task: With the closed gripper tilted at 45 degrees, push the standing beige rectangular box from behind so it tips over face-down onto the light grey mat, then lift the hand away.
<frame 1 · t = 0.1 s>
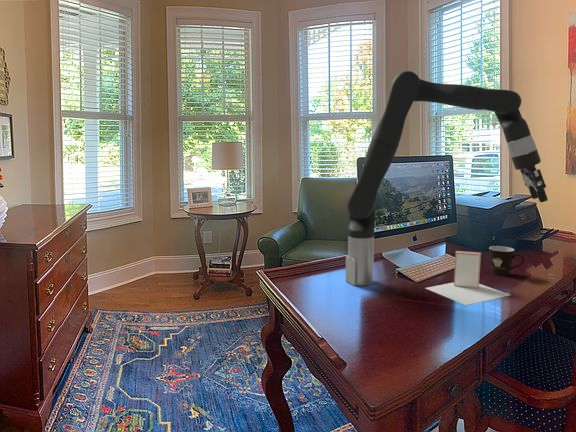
hand: (539, 199, 139), 31 cm above the table, tool tilted 20°, fingers open, 8 cm apart
coffee mug: (503, 275, 164), on the table
mat: (466, 292, 146), on the table
beige rectangular box: (466, 286, 151), resting on mat
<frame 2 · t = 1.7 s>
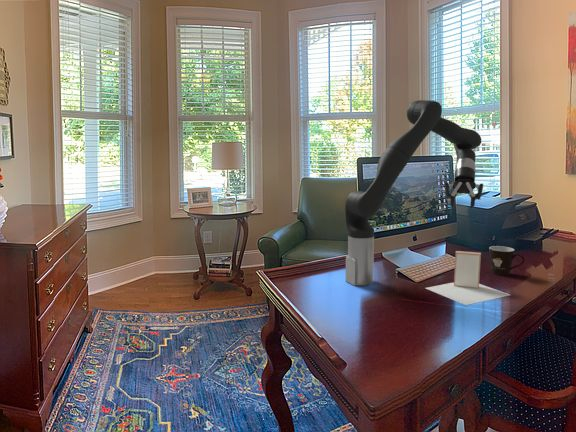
hand: (462, 206, 162), 26 cm above the table, tool tilted 45°, fingers open, 5 cm apart
nothing on the table moved.
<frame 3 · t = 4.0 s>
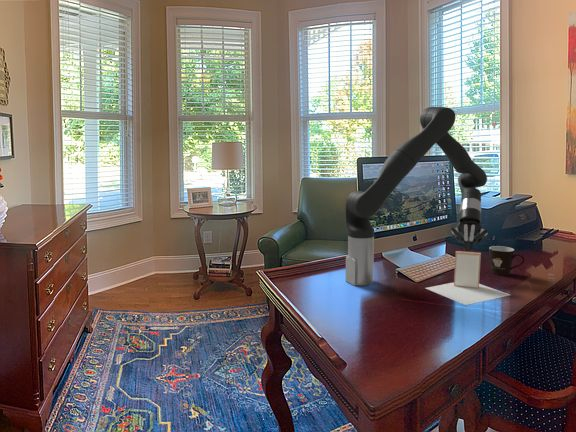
hand: (467, 252, 155), 11 cm above the table, tool tilted 45°, fingers closed
nothing on the table moved.
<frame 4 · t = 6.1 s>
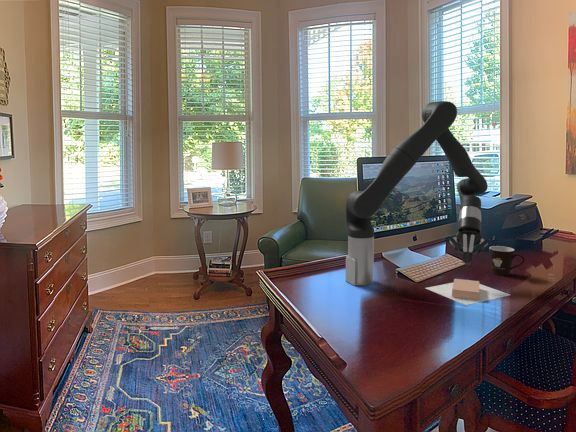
hand: (467, 263, 147), 9 cm above the table, tool tilted 45°, fingers closed
beige rectangular box: (466, 283, 149), point 2 cm above the table, tilted 90°, touching mat
everything else where it was.
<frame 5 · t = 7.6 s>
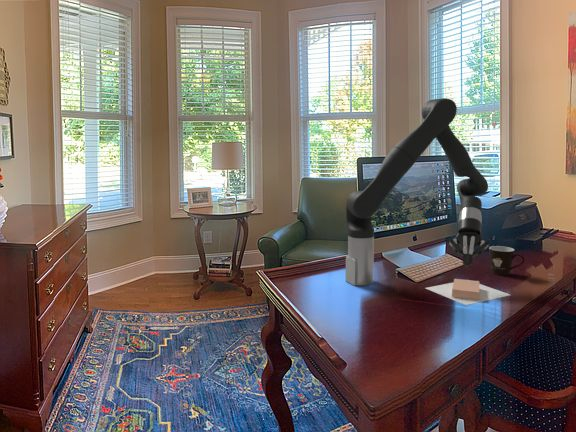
hand: (467, 265, 144), 9 cm above the table, tool tilted 45°, fingers closed
nothing on the table moved.
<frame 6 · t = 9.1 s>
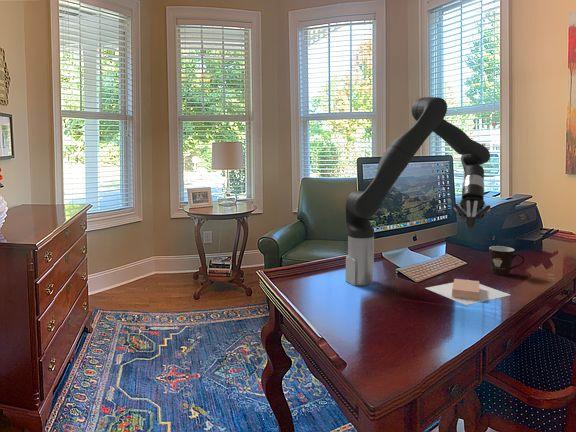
hand: (470, 227, 154), 20 cm above the table, tool tilted 45°, fingers closed
nothing on the table moved.
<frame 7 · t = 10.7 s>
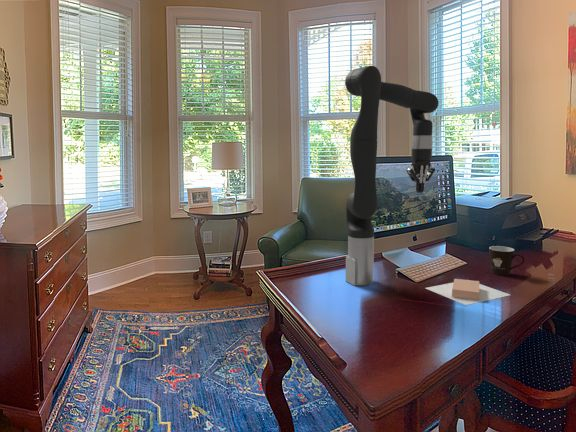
hand: (419, 192, 170), 31 cm above the table, tool pointing down, fingers closed
nothing on the table moved.
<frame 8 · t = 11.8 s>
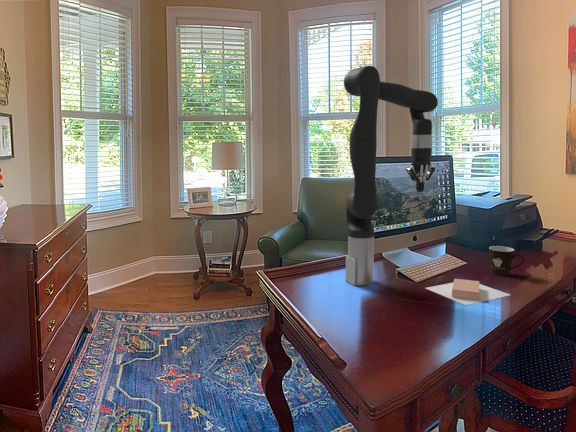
hand: (420, 191, 170), 31 cm above the table, tool pointing down, fingers closed
nothing on the table moved.
at the end: beige rectangular box tilted 90°; beige rectangular box inside the target area on the mat (4.2 cm from its centre), point 2.0 cm above the mat's base; the gripper is holding nothing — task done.
